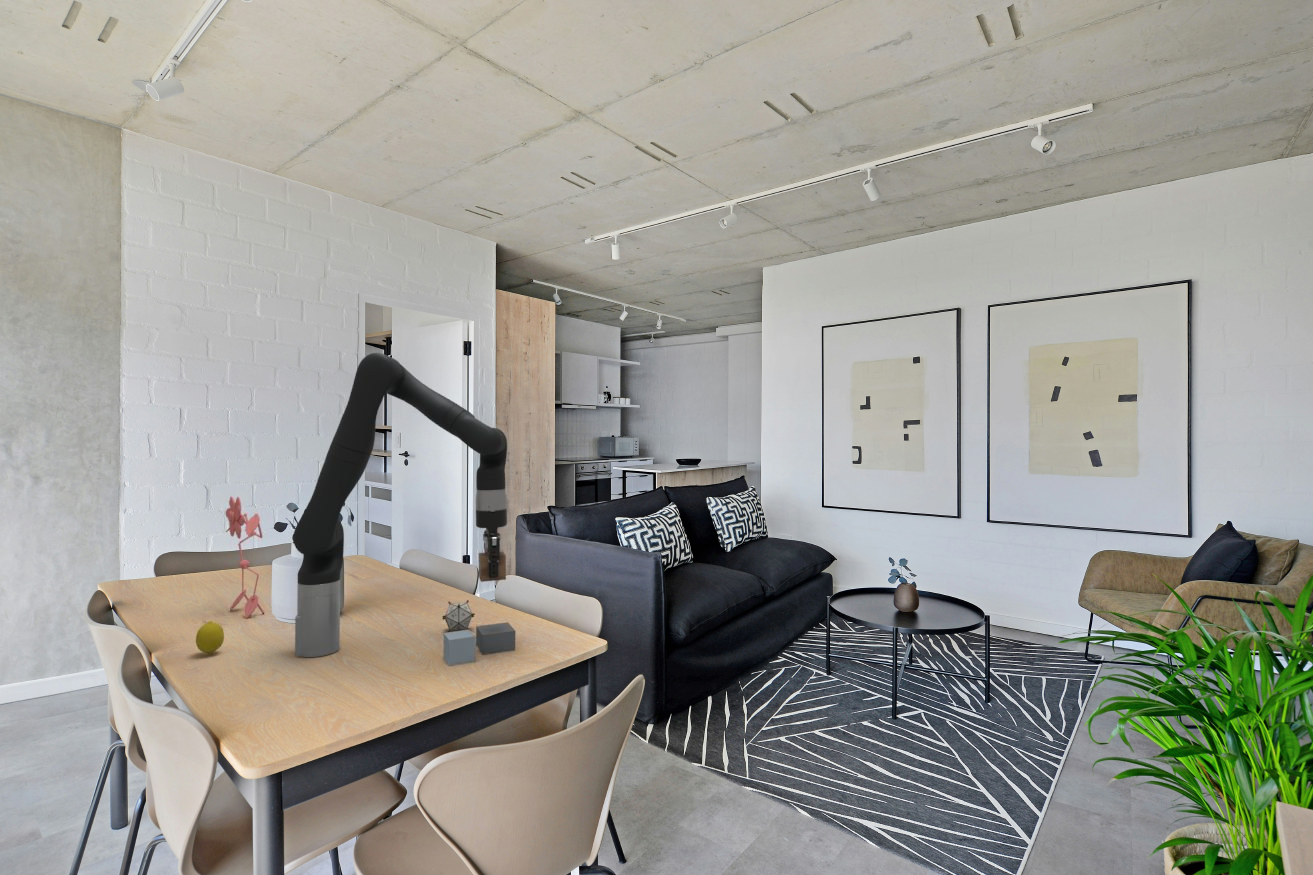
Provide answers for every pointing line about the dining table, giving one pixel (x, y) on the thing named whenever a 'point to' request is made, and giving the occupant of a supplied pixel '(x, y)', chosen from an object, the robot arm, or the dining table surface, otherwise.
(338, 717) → the dining table surface
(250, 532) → the pink stick figure
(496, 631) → the charcoal block
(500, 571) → the walnut cube
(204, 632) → the lemon
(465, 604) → the game die
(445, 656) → the slate cube
